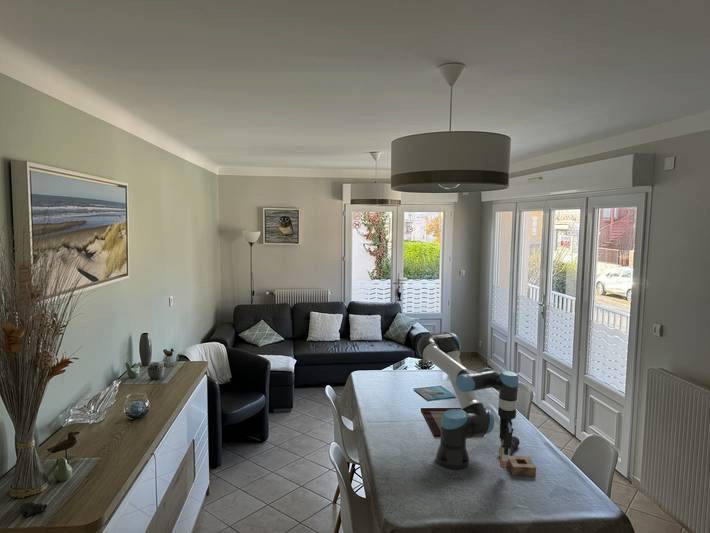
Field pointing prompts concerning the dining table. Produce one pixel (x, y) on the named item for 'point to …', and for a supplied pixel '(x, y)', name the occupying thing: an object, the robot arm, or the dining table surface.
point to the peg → (502, 463)
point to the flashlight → (513, 444)
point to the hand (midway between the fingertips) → (504, 458)
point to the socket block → (521, 466)
